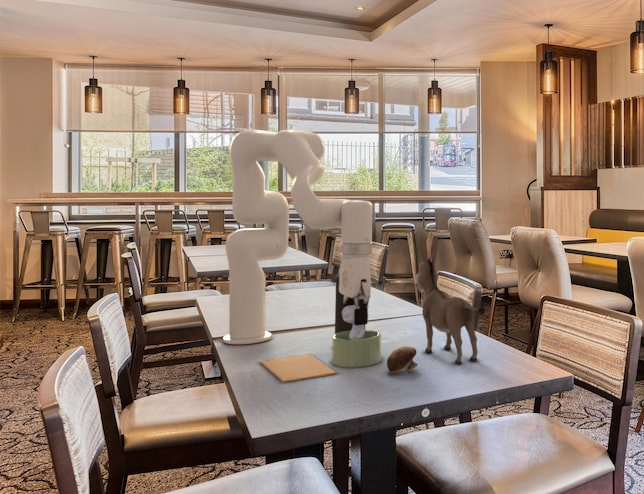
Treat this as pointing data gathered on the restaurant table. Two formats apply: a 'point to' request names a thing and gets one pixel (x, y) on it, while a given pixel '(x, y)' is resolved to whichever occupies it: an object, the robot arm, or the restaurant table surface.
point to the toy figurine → (356, 331)
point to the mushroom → (401, 359)
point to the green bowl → (356, 349)
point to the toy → (444, 307)
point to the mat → (297, 368)
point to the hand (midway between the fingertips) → (355, 321)
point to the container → (339, 306)
